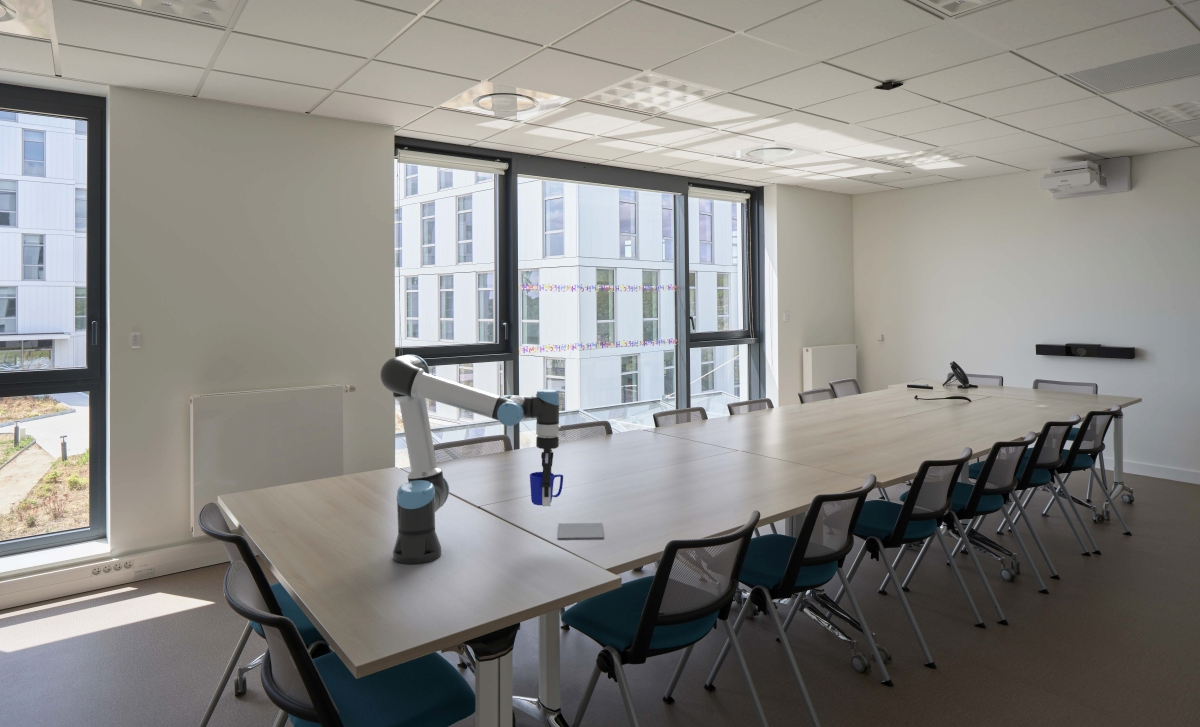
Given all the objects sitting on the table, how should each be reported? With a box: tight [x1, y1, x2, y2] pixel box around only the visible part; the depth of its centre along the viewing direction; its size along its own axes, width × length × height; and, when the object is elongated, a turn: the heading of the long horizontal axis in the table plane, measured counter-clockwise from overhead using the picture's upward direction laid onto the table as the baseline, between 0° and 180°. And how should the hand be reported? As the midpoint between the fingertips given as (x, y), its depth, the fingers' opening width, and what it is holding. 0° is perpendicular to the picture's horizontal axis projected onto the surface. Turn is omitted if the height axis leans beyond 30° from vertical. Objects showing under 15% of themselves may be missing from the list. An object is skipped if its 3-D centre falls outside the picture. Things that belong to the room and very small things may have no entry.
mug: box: [529, 471, 564, 506], centre depth 237 cm, size 8×12×10 cm
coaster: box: [557, 522, 605, 541], centre depth 250 cm, size 16×16×1 cm
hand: (546, 502), depth 237 cm, fingers closed on mug, 7 cm apart
